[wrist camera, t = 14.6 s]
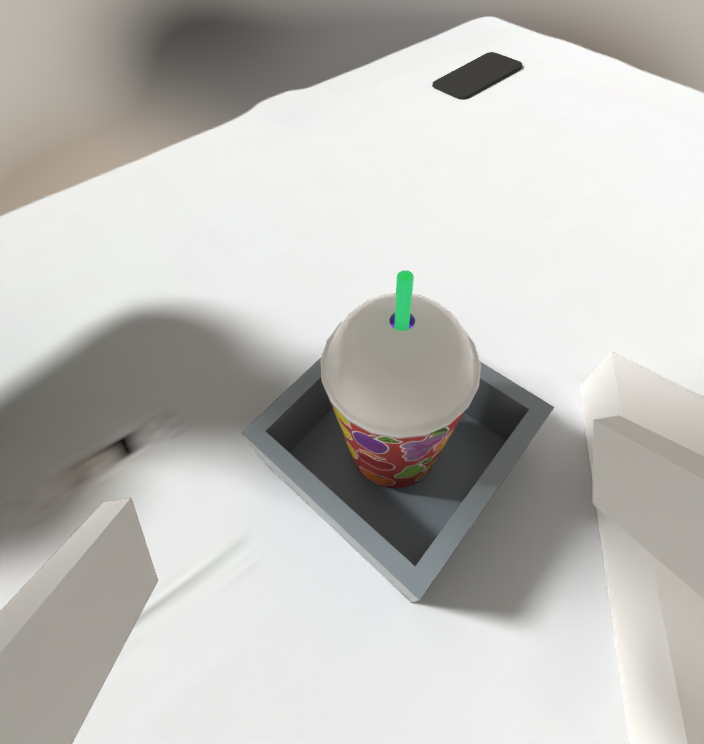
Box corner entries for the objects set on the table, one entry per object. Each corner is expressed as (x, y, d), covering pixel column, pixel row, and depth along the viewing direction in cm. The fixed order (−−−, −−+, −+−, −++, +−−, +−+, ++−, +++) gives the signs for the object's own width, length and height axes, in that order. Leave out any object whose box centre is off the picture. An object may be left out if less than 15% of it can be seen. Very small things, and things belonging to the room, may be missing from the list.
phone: (429, 83, 65) (490, 50, 70) (428, 89, 66) (489, 56, 70) (463, 98, 62) (525, 63, 66) (462, 104, 63) (524, 69, 67)
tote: (266, 464, 34) (241, 433, 28) (381, 348, 39) (381, 301, 33) (411, 602, 28) (419, 600, 22) (523, 443, 33) (554, 407, 27)
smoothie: (413, 391, 36) (444, 187, 18) (464, 476, 31) (563, 313, 14) (327, 428, 34) (272, 245, 17) (368, 521, 30) (350, 403, 13)
